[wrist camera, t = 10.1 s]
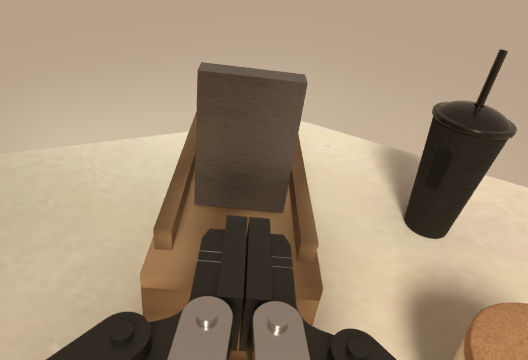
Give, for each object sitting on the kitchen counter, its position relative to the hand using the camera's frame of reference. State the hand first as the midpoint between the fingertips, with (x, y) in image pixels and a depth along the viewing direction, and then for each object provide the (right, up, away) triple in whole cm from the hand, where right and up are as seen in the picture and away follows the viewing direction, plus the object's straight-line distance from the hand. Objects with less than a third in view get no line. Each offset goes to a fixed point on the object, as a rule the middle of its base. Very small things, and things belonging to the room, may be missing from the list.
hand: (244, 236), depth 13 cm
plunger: (-1, +5, +20) cm, 21 cm away
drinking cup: (+20, -3, +31) cm, 37 cm away
